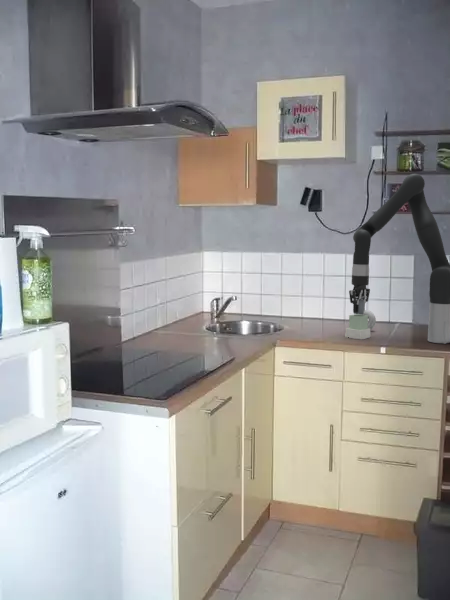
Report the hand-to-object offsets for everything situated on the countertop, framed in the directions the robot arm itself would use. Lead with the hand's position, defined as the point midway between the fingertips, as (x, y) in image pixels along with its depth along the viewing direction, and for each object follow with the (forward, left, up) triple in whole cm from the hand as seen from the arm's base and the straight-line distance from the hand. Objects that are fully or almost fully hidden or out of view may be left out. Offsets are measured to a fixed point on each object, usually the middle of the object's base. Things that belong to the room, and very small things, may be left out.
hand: (358, 311), depth 294 cm
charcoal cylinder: (0, 0, -1) cm, 1 cm away
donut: (+7, -18, -12) cm, 23 cm away
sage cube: (0, 0, -8) cm, 8 cm away
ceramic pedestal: (0, 0, -12) cm, 12 cm away
